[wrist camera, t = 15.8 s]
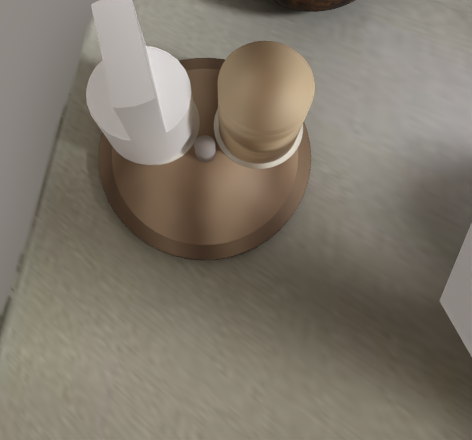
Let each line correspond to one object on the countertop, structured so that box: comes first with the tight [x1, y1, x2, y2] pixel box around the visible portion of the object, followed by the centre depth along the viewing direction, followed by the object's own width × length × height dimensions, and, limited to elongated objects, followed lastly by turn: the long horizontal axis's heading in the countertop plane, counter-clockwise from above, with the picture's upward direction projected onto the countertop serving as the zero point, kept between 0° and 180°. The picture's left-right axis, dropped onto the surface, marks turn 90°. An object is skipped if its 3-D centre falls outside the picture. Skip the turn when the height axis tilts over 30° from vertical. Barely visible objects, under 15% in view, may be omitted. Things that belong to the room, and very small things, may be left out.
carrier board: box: [99, 58, 311, 260], centre depth 41 cm, size 21×21×3 cm
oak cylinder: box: [218, 41, 315, 164], centre depth 38 cm, size 8×8×8 cm
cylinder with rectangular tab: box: [86, 0, 196, 165], centre depth 36 cm, size 9×9×12 cm
